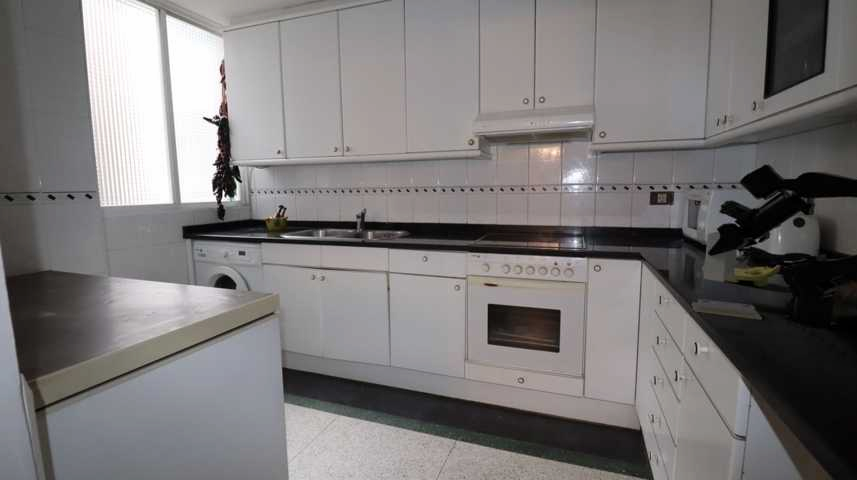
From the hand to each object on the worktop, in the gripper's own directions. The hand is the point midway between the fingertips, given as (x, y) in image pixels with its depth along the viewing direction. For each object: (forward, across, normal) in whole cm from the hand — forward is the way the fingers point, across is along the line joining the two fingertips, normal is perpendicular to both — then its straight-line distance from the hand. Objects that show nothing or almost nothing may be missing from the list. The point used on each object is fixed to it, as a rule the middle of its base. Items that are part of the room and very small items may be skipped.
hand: (715, 253), depth 106 cm
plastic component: (+12, -31, +7) cm, 34 cm away
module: (+4, 0, +6) cm, 7 cm away
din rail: (+5, +7, +13) cm, 16 cm away
